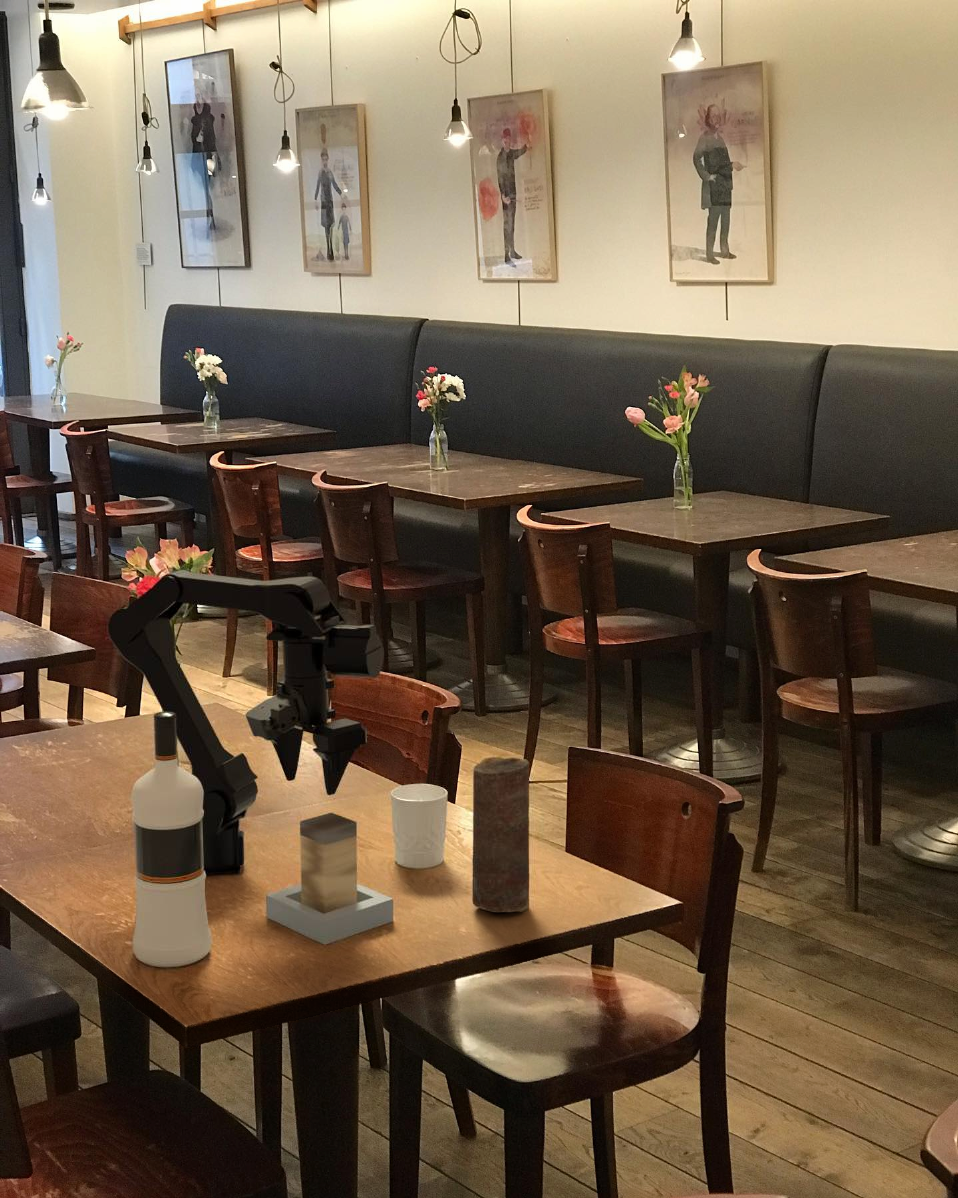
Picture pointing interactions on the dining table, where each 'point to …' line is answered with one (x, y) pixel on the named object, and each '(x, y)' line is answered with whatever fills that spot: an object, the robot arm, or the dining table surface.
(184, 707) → the robot arm
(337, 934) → the frame
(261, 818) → the dining table surface
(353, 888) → the wooden square peg
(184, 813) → the vodka
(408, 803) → the white cup
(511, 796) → the brown textured cylinder
